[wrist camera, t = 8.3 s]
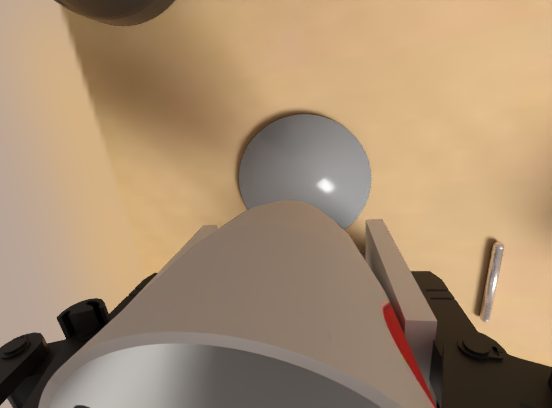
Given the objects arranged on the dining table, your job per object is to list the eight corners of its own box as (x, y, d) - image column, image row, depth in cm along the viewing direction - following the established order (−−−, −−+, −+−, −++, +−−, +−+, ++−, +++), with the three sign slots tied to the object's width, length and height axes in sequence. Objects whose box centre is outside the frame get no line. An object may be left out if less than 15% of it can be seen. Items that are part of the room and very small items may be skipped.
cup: (348, 320, 15) (391, 648, 6) (212, 290, 16) (66, 540, 7) (390, 186, 12) (595, 424, 3) (221, 155, 13) (-11, 279, 4)
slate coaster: (231, 121, 24) (229, 121, 24) (370, 106, 22) (372, 106, 22) (249, 240, 28) (248, 243, 28) (369, 237, 26) (370, 240, 26)
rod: (491, 240, 25) (496, 244, 24) (501, 240, 24) (507, 244, 24) (477, 317, 27) (481, 323, 27) (486, 318, 27) (491, 324, 27)
